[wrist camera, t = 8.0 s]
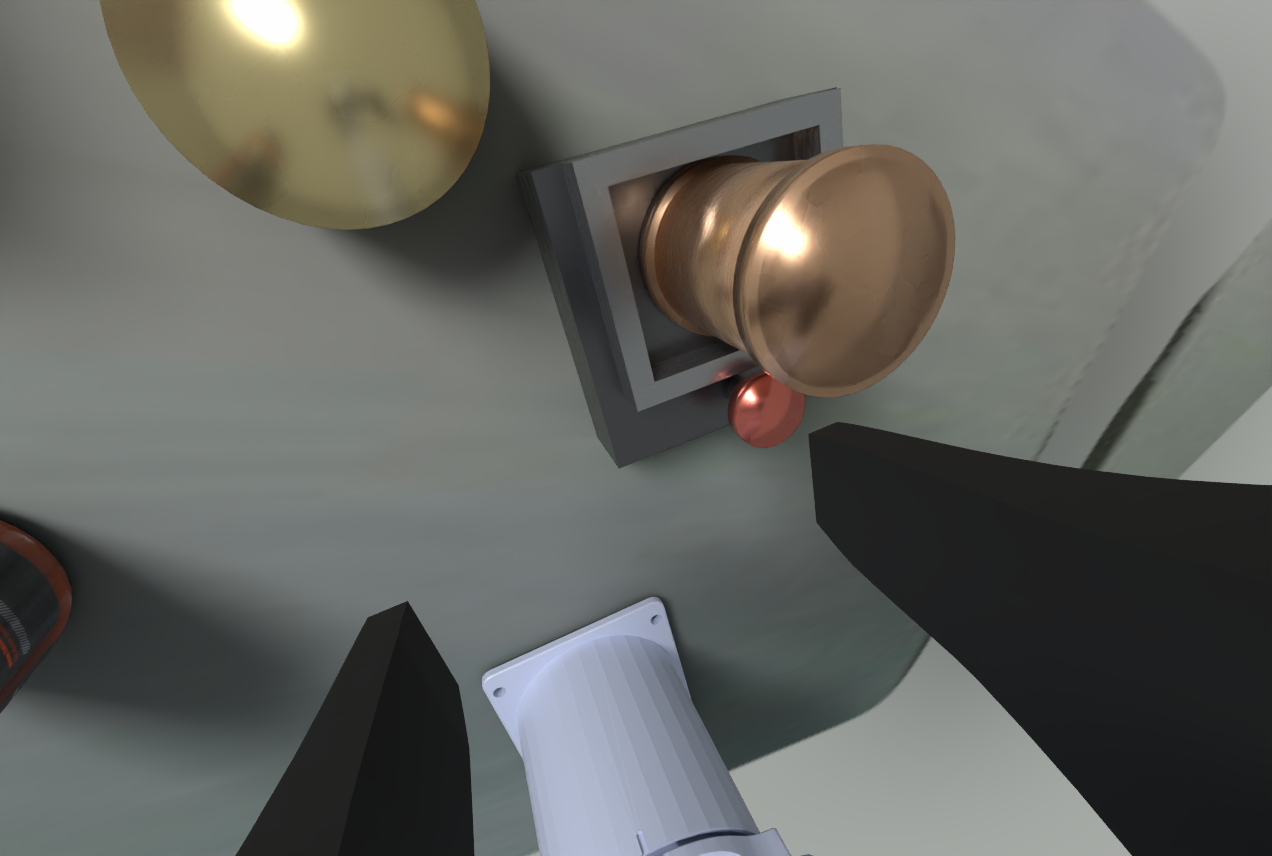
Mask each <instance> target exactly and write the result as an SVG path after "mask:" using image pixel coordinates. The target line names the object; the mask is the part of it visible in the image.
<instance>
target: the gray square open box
mask: <svg viewBox="0 0 1272 856" xmlns="http://www.w3.org/2000/svg"><path fill="white" fill-rule="evenodd" d="M841 147H843V132H842V112H841V92H840V88H838V89H837V87H836V88H831V89H827V90H822V91H817V92H813V93H808V94H804V95H799V96H795V97H790V98H786V99H782V100H778V101H775V102H771V103H768V104H764V105H760V106H757V107H753V108H749V109H746V110H742V111H739V112H735V113H731V114H728V115H724V116H720V117H717V118H713V119H710V120H706V121H702V122H699V123H695V124H692V125H688V126H684V127H681V128H677V129H673V130H670V131H666V132H663V133H659V134H655V135H652V136H648V137H644V138H641V139H637V140H634V141H630V142H626V143H623V144H619V145H615V146H612V147H608V148H605V149H601V150H597V151H594V152H590V153H587V154H583V155H579V156H576V157H572V158H568V159H565V160H561V161H558V162H554V163H550V164H547V165H543V166H539V167H536V168H532V169H529V170H525V171H521V172H518V173H516V175H517V178H518V181H519V185H520V188H521V191H522V194H523V198H524V201H525V204H526V207H527V210H528V214H529V217H530V220H531V223H532V227H533V230H534V233H535V236H536V240H537V243H538V246H539V249H540V252H541V256H542V259H543V262H544V265H545V269H546V272H547V275H548V278H549V282H550V285H551V288H552V291H553V294H554V298H555V301H556V304H557V307H558V311H559V314H560V317H561V320H562V324H563V327H564V330H565V333H566V336H567V340H568V343H569V346H570V349H571V353H572V356H573V359H574V362H575V366H576V369H577V372H578V375H579V378H580V382H581V385H582V388H583V391H584V395H585V398H586V401H587V404H588V407H589V411H590V414H591V417H592V420H593V424H594V427H595V430H596V433H597V437H598V439H599V440H600V442H601V443H602V444H603V446H604V447H605V449H606V450H607V452H608V453H609V455H610V456H611V458H612V459H613V460H614V462H615V463H616V465H617V466H618V468H621V467H624V466H626V465H629V464H631V463H634V462H636V461H639V460H641V459H644V458H646V457H649V456H651V455H654V454H656V453H659V452H661V451H664V450H666V449H669V448H671V447H674V446H676V445H679V444H681V443H684V442H686V441H689V440H691V439H694V438H696V437H699V436H701V435H704V434H706V433H709V432H711V431H714V430H716V429H719V428H721V427H724V426H726V425H729V424H730V427H731V428H732V430H733V431H734V432H735V433H736V434H737V435H738V436H739V437H740V438H742V439H743V440H744V441H745V442H747V443H748V444H750V445H751V446H754V447H758V448H768V447H772V446H775V445H777V444H780V443H781V442H783V441H784V440H786V439H787V438H788V437H789V436H790V435H791V434H792V433H793V432H794V431H795V430H796V428H797V427H798V425H799V423H800V422H801V419H802V417H803V414H804V409H805V397H804V394H803V393H800V392H797V391H795V390H793V389H792V388H790V387H788V386H786V385H784V384H783V383H781V382H779V381H777V380H776V379H774V378H772V377H770V376H769V375H768V374H767V373H765V372H764V371H763V370H762V369H761V368H760V367H759V366H758V365H757V364H756V363H755V362H754V361H753V359H752V358H751V356H750V355H748V354H747V353H745V352H743V351H741V350H739V349H737V348H735V347H734V346H732V345H730V344H728V343H726V342H724V341H722V340H720V339H719V338H717V337H715V336H705V335H700V334H697V333H694V332H691V331H689V330H687V329H685V328H684V327H682V326H680V325H678V324H676V323H675V322H673V321H672V320H670V319H669V318H668V317H666V316H665V315H664V314H663V313H662V312H661V311H660V310H659V309H658V307H657V306H656V305H655V303H654V302H653V300H652V299H651V297H650V295H649V293H648V291H647V289H646V286H645V283H644V281H643V276H642V272H641V266H640V239H641V233H642V229H643V225H644V221H645V218H646V216H647V213H648V210H649V208H650V206H651V204H652V203H653V201H654V199H655V197H656V196H657V194H658V193H659V191H660V190H661V189H662V187H663V186H664V185H665V184H666V183H667V182H668V181H669V180H670V179H671V178H672V177H673V176H674V175H675V174H676V173H678V172H679V171H680V170H682V169H683V168H685V167H686V166H688V165H690V164H692V163H694V162H696V161H699V160H702V159H705V158H709V157H716V156H727V155H737V156H745V157H750V158H753V159H756V160H758V161H761V162H774V161H795V160H808V159H810V158H812V157H814V156H816V155H818V154H820V153H822V152H825V151H829V150H832V149H835V148H841Z"/></svg>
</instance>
